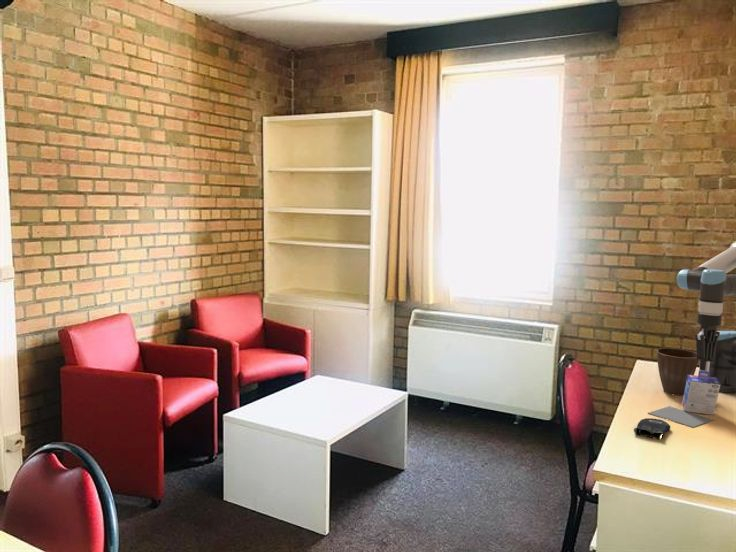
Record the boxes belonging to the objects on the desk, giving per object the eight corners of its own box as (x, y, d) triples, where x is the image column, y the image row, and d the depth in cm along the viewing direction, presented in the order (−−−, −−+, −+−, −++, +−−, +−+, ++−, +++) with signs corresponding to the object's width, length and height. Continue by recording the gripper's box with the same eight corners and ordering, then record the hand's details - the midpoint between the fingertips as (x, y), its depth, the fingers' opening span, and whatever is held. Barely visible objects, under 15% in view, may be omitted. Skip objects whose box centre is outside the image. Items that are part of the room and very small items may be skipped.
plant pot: (702, 399, 242) (706, 358, 240) (663, 397, 242) (666, 356, 240) (684, 387, 256) (688, 348, 254) (647, 386, 257) (650, 347, 255)
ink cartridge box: (710, 407, 229) (718, 371, 224) (714, 415, 224) (723, 379, 219) (680, 403, 231) (688, 367, 226) (684, 411, 226) (692, 375, 220)
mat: (669, 407, 231) (669, 406, 231) (714, 420, 219) (714, 419, 218) (647, 413, 223) (647, 412, 223) (693, 427, 210) (693, 426, 210)
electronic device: (666, 447, 198) (672, 426, 210) (664, 430, 197) (671, 410, 209) (634, 444, 203) (642, 424, 215) (632, 427, 202) (640, 408, 214)
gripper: (708, 310, 231) (701, 373, 234) (689, 313, 224) (683, 378, 226) (729, 313, 225) (722, 378, 228) (711, 316, 218) (704, 384, 220)
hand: (703, 378), depth 227 cm, fingers closed
